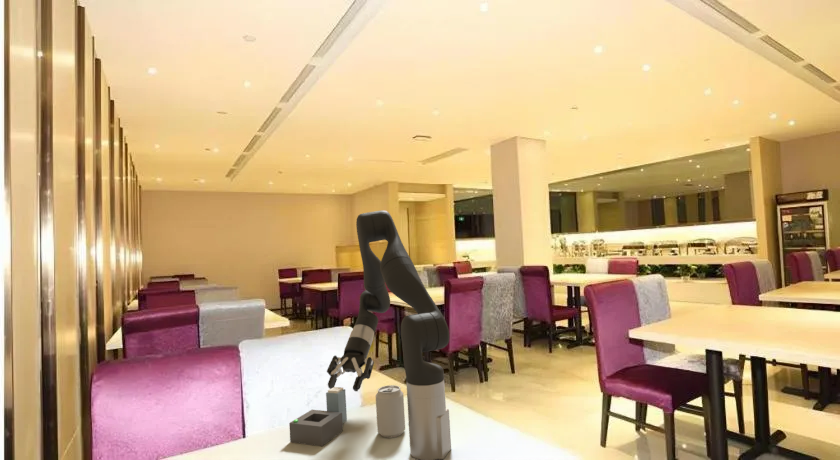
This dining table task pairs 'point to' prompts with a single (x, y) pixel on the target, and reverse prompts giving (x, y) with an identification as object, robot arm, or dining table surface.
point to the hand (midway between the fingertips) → (342, 389)
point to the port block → (316, 427)
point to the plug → (337, 401)
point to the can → (390, 411)
